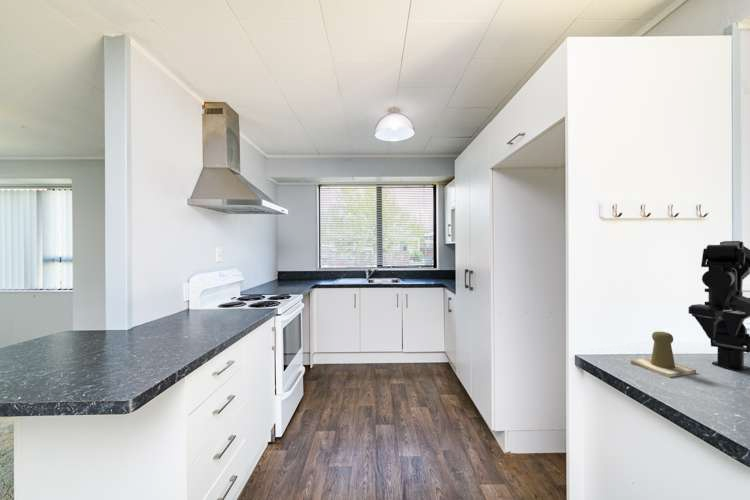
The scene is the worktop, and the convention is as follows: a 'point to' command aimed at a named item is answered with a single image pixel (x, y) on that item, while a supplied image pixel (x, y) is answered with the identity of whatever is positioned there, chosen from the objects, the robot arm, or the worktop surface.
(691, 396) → the worktop surface
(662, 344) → the cork
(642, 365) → the birch trivet
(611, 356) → the worktop surface
